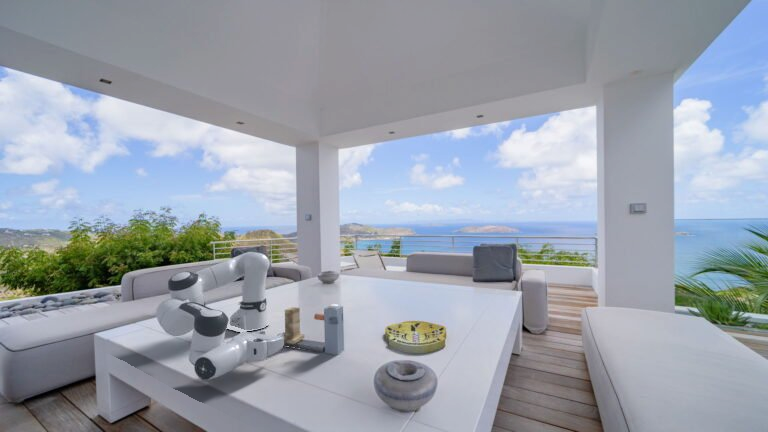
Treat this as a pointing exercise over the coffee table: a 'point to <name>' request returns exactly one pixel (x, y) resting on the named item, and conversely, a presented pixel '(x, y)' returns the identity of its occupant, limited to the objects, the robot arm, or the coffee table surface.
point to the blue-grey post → (334, 329)
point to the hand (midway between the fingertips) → (272, 334)
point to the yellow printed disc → (416, 336)
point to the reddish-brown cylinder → (319, 316)
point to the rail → (308, 345)
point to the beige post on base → (292, 325)
